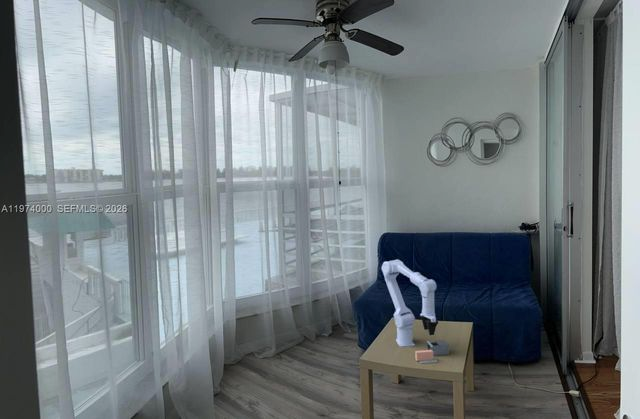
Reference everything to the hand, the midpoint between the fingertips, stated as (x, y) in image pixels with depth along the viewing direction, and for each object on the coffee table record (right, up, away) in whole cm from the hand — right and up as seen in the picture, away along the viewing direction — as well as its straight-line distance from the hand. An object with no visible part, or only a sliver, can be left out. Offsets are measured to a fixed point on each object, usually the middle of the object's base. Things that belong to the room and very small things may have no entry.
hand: (429, 332), depth 210 cm
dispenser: (+3, -10, 0) cm, 11 cm away
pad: (-3, -11, -8) cm, 14 cm away
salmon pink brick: (-4, -11, -8) cm, 14 cm away
